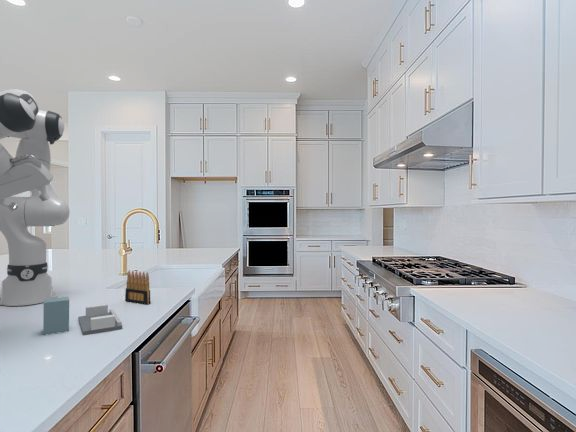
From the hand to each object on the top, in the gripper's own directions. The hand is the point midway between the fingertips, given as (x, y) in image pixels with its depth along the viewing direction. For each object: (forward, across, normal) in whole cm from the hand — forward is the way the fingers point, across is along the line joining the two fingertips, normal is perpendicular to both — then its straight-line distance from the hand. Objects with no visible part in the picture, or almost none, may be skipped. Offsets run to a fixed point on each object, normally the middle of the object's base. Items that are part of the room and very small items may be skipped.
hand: (30, 204), depth 99 cm
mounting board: (+34, -5, +21) cm, 41 cm away
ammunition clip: (+50, -6, +2) cm, 51 cm away
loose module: (+28, +4, +24) cm, 37 cm away
